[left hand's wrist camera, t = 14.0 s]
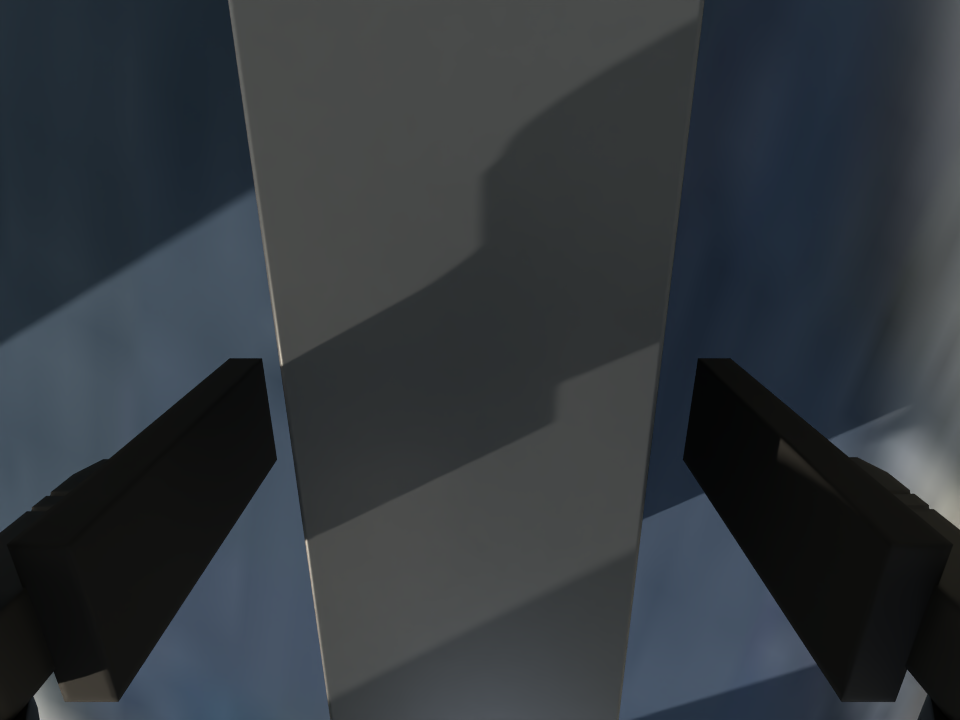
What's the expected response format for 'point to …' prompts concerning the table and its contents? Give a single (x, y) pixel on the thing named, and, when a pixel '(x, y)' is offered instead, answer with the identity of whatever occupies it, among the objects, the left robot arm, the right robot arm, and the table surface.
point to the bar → (470, 330)
